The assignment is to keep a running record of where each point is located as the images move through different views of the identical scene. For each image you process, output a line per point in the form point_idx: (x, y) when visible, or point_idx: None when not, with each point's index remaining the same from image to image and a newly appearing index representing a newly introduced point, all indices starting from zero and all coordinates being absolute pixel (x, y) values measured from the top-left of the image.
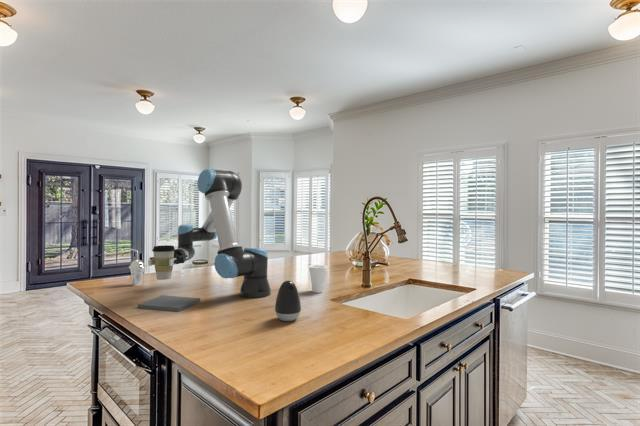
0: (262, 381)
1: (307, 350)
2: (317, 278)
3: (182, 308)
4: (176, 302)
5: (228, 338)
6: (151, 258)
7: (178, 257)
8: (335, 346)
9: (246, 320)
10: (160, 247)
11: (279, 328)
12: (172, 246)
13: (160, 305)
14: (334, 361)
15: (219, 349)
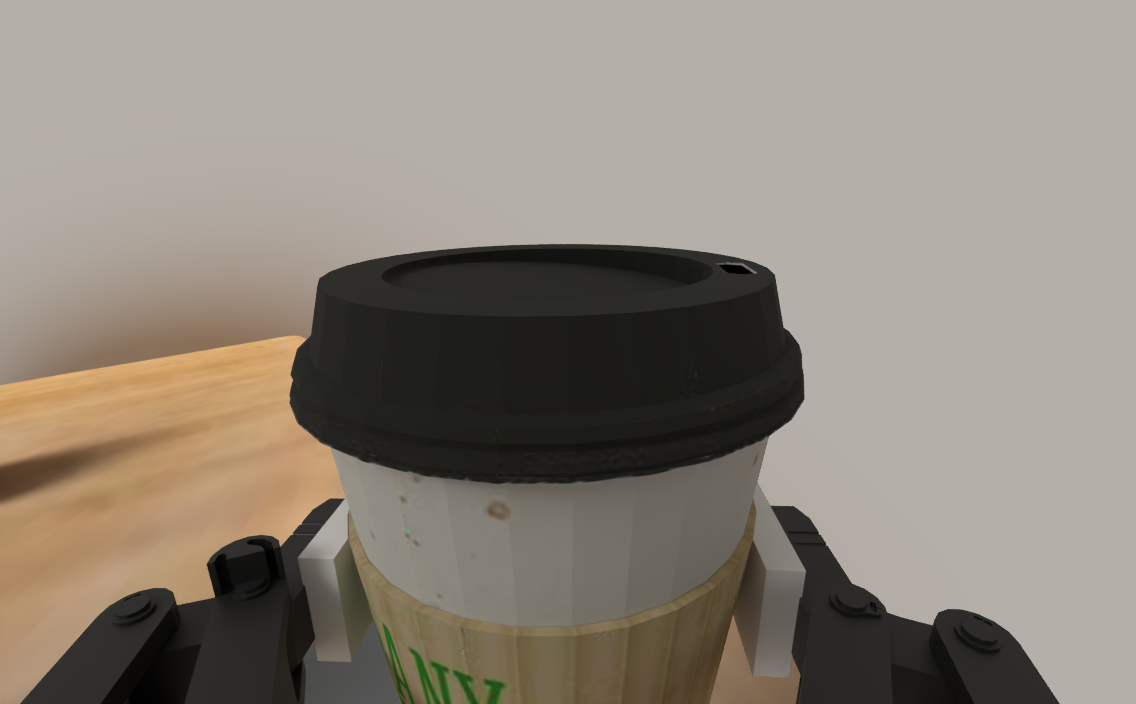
0: (271, 348)
1: (121, 386)
2: None
3: None
4: (391, 686)
5: (256, 415)
6: (933, 629)
7: (247, 558)
8: (42, 394)
9: (106, 497)
10: (552, 245)
11: (59, 450)
12: (354, 264)
13: None
14: (115, 369)
15: None
